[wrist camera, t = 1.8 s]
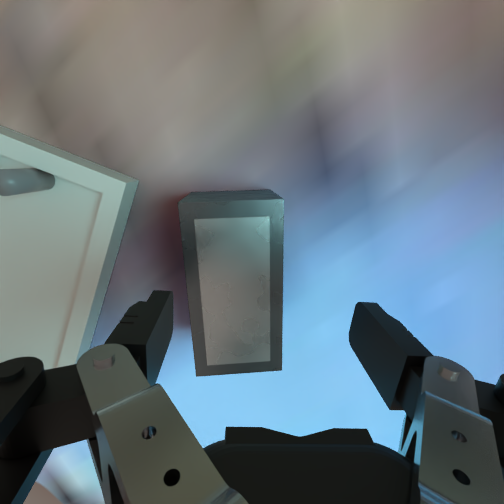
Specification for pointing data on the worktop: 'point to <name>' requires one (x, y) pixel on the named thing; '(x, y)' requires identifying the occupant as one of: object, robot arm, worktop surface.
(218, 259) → the block
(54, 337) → the tray
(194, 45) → the worktop surface
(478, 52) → the worktop surface
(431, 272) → the worktop surface
